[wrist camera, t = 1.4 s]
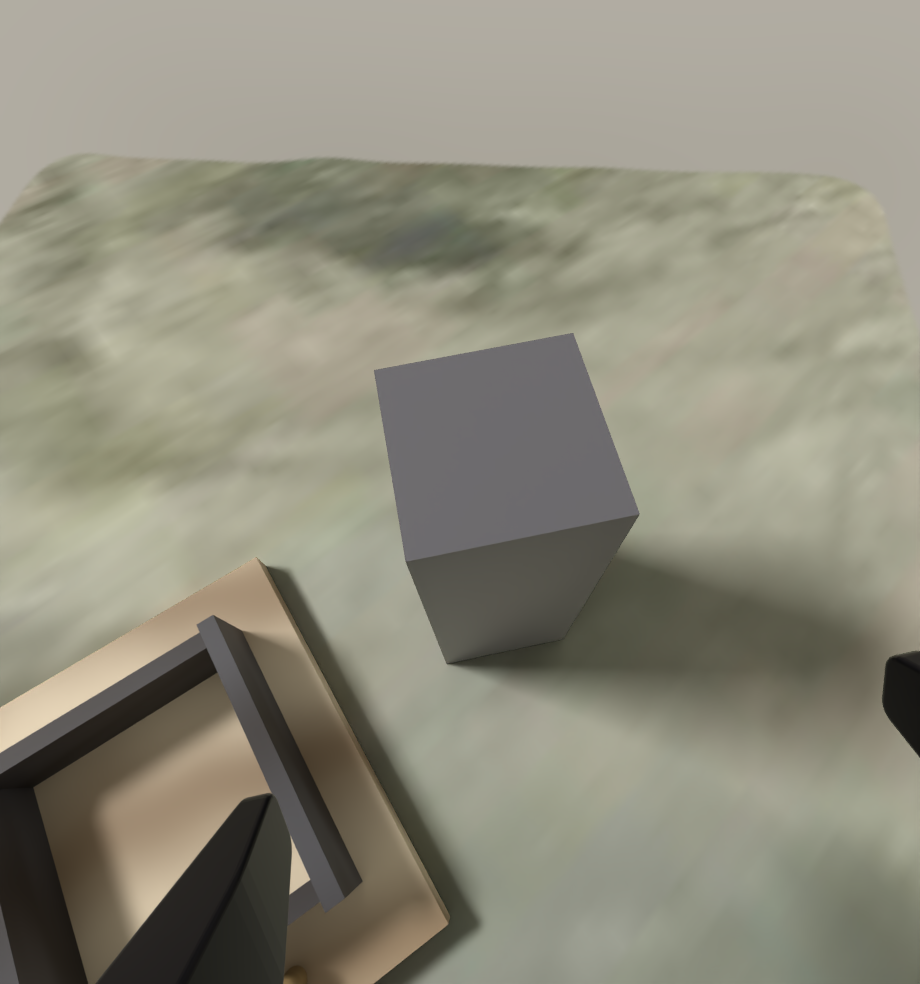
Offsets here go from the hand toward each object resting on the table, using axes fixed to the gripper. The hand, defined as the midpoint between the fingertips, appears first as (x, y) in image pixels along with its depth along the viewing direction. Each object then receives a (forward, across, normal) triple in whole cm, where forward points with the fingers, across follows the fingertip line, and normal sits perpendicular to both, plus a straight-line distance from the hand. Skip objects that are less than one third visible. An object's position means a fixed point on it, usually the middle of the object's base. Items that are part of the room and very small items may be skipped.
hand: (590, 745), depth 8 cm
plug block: (+13, 0, +5) cm, 14 cm away
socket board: (+9, +12, +9) cm, 18 cm away
